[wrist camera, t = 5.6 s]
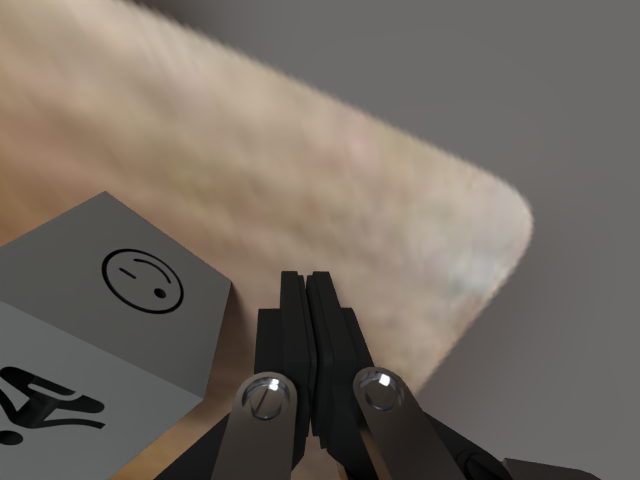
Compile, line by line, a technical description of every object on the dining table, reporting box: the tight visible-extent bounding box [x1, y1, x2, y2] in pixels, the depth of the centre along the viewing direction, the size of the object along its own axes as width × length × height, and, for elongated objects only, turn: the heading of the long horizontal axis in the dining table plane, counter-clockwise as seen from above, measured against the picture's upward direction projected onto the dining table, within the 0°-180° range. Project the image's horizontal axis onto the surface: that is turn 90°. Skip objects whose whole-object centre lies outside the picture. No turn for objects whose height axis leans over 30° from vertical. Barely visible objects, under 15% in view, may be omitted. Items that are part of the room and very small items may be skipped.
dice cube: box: [0, 191, 232, 480], centre depth 8 cm, size 5×5×5 cm
